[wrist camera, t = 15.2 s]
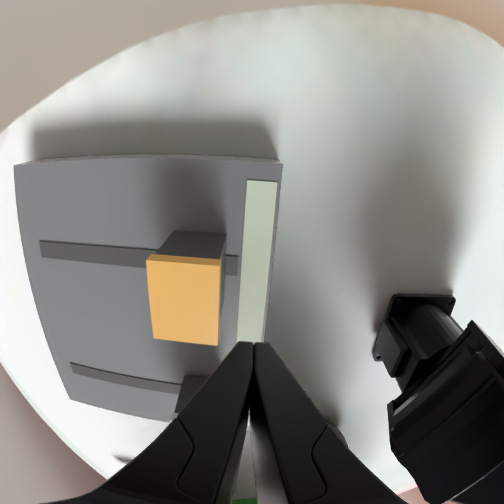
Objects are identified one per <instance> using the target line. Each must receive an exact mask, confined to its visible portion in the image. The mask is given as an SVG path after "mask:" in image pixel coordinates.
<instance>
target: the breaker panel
mask: <svg viewBox="0 0 504 504" xmlns="http://www.w3.org/2000/svg"><path fill="white" fill-rule="evenodd" d="M282 166H283V164H282V163H281V162H280V161H279V160H275V159H264V158H250V157H235V156H215V155H186V154H125V155H96V156H78V157H64V158H51V159H40V160H35V161H30V162H26V163H22V164H18V165H14V180H15V193H16V204H17V213H18V221H19V228H20V234H21V241H22V246H23V252H24V257H25V262H26V267H27V272H28V276H29V281H30V285H31V289H32V293H33V297H34V301H35V304H36V308H37V311H38V315H39V318H40V321H41V325H42V328H43V331H44V334H45V337H46V340H47V343H48V346H49V349H50V351H51V354H52V357H53V360H54V362H55V365H56V367H57V370H58V372H59V375H60V377H61V380H62V382H63V384H64V387H65V389H66V391H67V394H68V396H69V398H70V399H71V400H75V401H78V402H81V403H85V404H88V405H92V406H96V407H99V408H103V409H107V410H111V411H115V412H119V413H124V414H128V415H133V416H138V417H142V418H148V419H153V420H158V421H164V422H170V419H171V416H172V412H173V413H174V412H175V408H176V404H177V400H178V396H179V393H180V389H181V385H182V382H183V378H184V375H187V376H196V377H205V378H209V377H210V375H211V374H212V373H213V372H214V371H215V369H216V368H217V367H218V366H219V364H220V363H221V362H222V361H223V359H224V358H225V357H226V356H227V355H228V353H229V352H230V351H231V350H232V348H233V347H234V346H235V344H236V343H237V342H238V341H249V342H253V344H254V343H255V342H264V337H265V329H266V320H267V312H268V303H269V294H270V285H271V276H272V267H273V258H274V248H275V239H276V229H277V219H278V209H279V198H280V188H281V177H282ZM174 230H176V231H192V232H207V233H221V234H227V244H226V267H225V293H224V302H223V307H222V312H221V318H220V323H219V341H218V346H216V345H206V344H196V343H187V342H178V341H170V340H163V339H155V338H154V337H153V329H152V321H151V312H150V302H149V292H148V280H147V267H146V259H147V258H148V257H149V256H150V255H151V254H155V253H156V252H157V251H158V249H159V248H160V247H161V246H162V244H163V243H164V242H165V241H166V239H167V238H168V237H169V236H170V235H171V233H172V232H173V231H174ZM249 410H250V409H249ZM170 423H171V422H170ZM246 431H250V420H249V419H248V425H247V430H246Z"/></svg>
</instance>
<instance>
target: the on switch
mask: <svg viewBox="0 0 504 504" xmlns="http://www.w3.org/2000/svg"><path fill="white" fill-rule="evenodd" d="M207 379H208V378H205V377H196V376H187V375H184V378H183V382H182V385H181V389H180V393H179V396H178V400H177V404H176V408H175V412H174V413H173V412H172V416H171V419H170V422H172V421H173V419H174V418H177V415H178V414H179V413H180V411H181V410H182V409H183V408H184V407H185V406H186V404H187V403H188V402H189V401H190V400H191V398H192V397H193V396H194V395H195V394H196V392H197V391H198V390H199V389H200V388H201V386H202V385H203V384H204V383H205V382H206V380H207Z"/></svg>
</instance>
